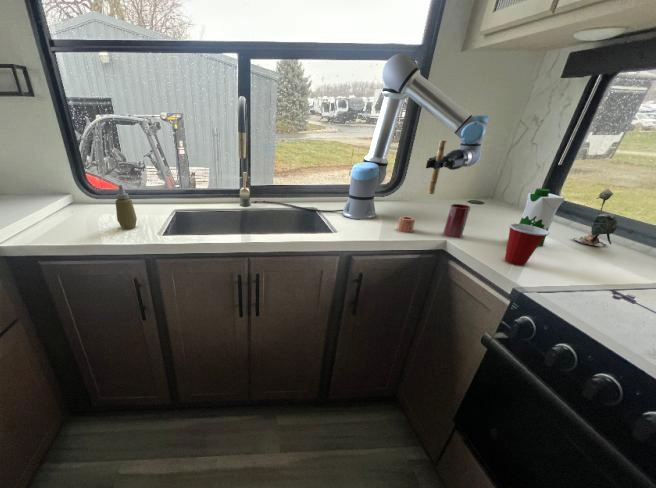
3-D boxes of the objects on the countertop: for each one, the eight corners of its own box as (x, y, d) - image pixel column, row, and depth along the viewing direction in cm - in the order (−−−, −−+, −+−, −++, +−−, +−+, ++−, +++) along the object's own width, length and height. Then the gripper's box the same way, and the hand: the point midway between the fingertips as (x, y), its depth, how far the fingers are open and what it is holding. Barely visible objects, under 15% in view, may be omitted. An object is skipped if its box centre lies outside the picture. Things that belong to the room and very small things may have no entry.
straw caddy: (396, 232, 141) (399, 219, 139) (397, 228, 146) (400, 215, 143) (412, 234, 139) (415, 220, 136) (412, 229, 144) (415, 217, 141)
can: (443, 237, 136) (451, 207, 130) (442, 232, 141) (450, 203, 135) (462, 239, 133) (471, 209, 127) (460, 234, 139) (469, 205, 133)
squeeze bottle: (115, 228, 147) (105, 186, 138) (129, 223, 153) (121, 182, 144) (128, 231, 143) (119, 187, 135) (142, 226, 150) (134, 184, 141)
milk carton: (508, 239, 133) (527, 187, 123) (531, 239, 133) (552, 187, 123) (522, 246, 126) (545, 192, 116) (547, 246, 125) (571, 192, 116)
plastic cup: (542, 269, 108) (558, 233, 102) (504, 267, 109) (518, 231, 104) (525, 257, 117) (540, 223, 111) (491, 255, 119) (503, 221, 113)
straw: (427, 193, 132) (440, 140, 123) (427, 192, 134) (439, 140, 125) (434, 194, 131) (447, 141, 122) (433, 193, 133) (446, 140, 124)
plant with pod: (592, 249, 123) (621, 193, 113) (568, 239, 133) (593, 186, 123) (615, 249, 123) (646, 193, 113) (590, 239, 133) (617, 187, 123)
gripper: (474, 170, 134) (449, 177, 121) (436, 167, 144) (409, 173, 131) (480, 150, 131) (455, 155, 117) (441, 147, 141) (413, 152, 127)
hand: (431, 164), depth 124 cm, fingers closed on straw, 2 cm apart
